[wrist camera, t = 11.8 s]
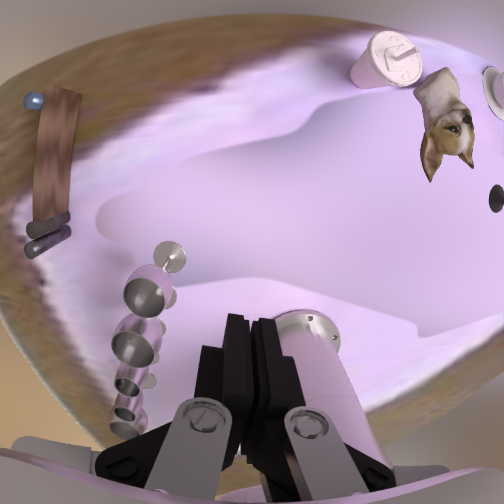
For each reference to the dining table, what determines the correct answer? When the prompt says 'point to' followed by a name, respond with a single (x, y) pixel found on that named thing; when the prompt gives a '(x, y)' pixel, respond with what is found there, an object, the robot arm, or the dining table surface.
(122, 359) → the goblet set
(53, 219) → the gate
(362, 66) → the smoothie
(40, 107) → the grey upright cylinders
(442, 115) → the ceramic sculpture
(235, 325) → the robot arm
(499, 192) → the sundae
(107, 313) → the dining table surface
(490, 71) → the teacup
